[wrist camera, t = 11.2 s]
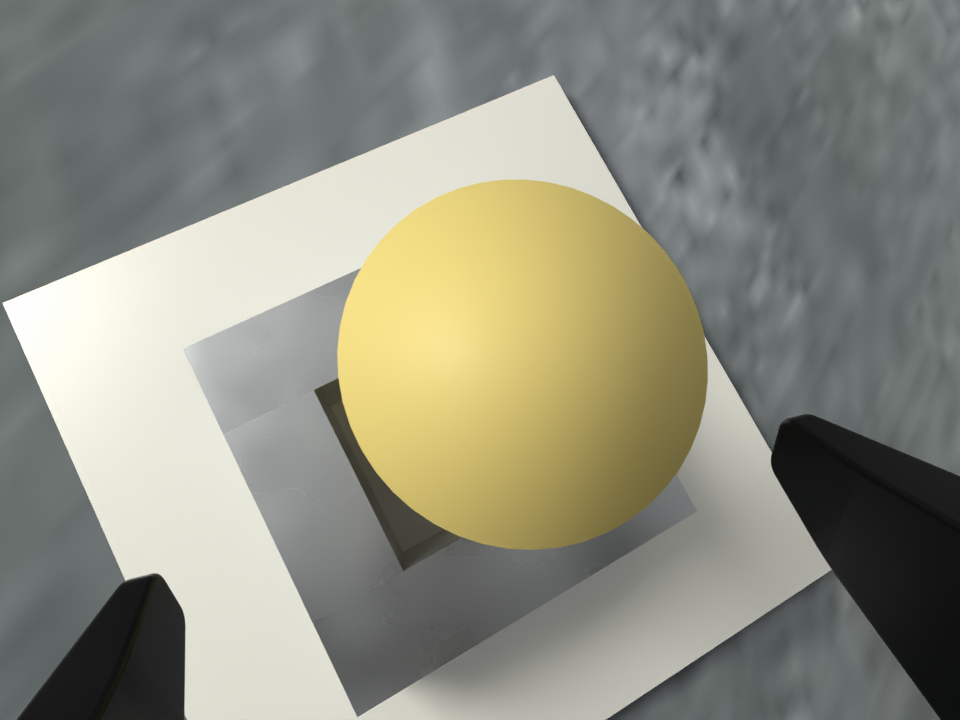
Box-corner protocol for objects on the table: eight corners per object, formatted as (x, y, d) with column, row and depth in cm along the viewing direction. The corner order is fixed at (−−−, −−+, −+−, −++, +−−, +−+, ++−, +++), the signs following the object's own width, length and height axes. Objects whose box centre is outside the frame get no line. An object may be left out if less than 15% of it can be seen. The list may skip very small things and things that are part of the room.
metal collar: (642, 504, 18) (697, 511, 15) (366, 667, 17) (357, 716, 13) (500, 245, 19) (521, 195, 16) (225, 373, 18) (182, 348, 14)
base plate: (819, 562, 19) (836, 565, 19) (288, 911, 16) (282, 934, 15) (548, 89, 21) (554, 75, 21) (19, 310, 18) (2, 302, 17)
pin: (513, 430, 18) (772, 325, 6) (448, 519, 18) (572, 634, 5) (428, 364, 18) (490, 112, 6) (359, 450, 18) (252, 386, 5)
